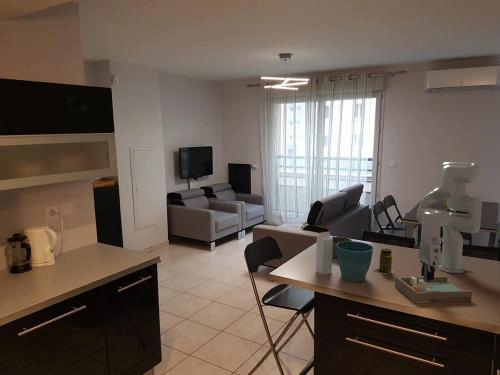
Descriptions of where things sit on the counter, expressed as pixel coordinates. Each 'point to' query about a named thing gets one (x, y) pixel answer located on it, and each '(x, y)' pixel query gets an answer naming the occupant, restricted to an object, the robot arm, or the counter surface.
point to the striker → (424, 282)
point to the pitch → (432, 290)
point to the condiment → (385, 262)
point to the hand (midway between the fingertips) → (427, 277)
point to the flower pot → (354, 260)
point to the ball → (416, 288)
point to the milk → (324, 253)
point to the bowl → (336, 241)
